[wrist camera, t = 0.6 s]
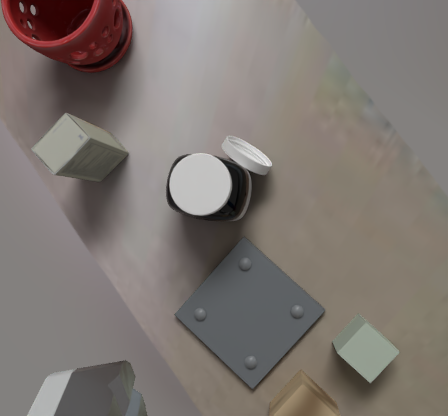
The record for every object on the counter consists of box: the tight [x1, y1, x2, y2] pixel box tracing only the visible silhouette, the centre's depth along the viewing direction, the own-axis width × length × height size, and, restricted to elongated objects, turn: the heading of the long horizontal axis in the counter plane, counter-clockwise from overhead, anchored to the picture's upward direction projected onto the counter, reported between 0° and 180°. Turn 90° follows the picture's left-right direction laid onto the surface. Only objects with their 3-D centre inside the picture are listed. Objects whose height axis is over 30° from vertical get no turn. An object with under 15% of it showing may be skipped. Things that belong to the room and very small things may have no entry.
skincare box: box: [32, 113, 128, 182], centre depth 53 cm, size 6×4×12 cm
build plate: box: [174, 237, 325, 389], centre depth 55 cm, size 14×14×1 cm
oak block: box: [269, 370, 340, 416], centre depth 52 cm, size 6×6×5 cm
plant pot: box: [1, 0, 132, 73], centre depth 54 cm, size 13×13×12 cm
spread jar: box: [166, 136, 272, 221], centre depth 51 cm, size 12×11×12 cm
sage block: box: [332, 313, 400, 383], centre depth 51 cm, size 5×5×5 cm
